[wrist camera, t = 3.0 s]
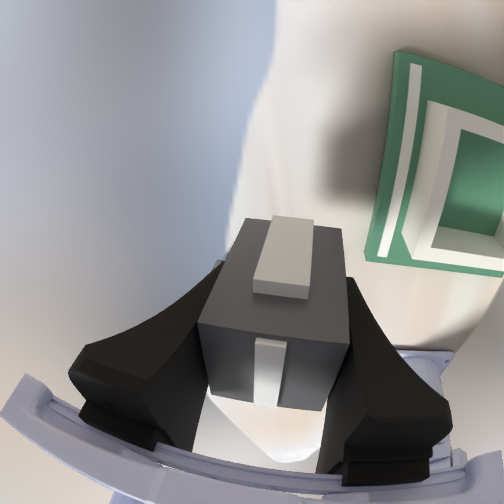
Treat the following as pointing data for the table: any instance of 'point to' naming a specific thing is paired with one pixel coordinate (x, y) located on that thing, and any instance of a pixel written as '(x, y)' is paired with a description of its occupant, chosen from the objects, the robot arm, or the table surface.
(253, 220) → the plug
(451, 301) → the table surface
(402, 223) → the board
